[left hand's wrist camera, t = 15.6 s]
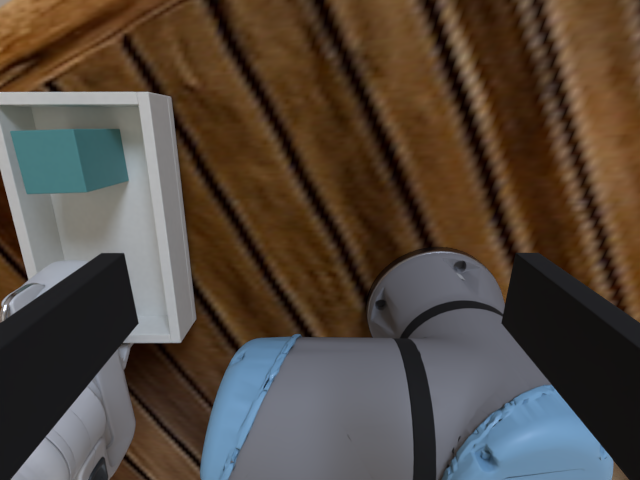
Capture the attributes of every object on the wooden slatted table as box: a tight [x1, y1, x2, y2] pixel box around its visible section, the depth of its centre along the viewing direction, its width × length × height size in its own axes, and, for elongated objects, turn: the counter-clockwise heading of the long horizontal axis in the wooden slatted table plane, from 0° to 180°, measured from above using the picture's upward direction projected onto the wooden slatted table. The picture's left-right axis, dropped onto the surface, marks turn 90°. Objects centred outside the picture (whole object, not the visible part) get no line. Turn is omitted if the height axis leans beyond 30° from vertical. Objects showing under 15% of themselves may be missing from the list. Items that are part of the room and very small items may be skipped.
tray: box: [0, 92, 196, 343], centre depth 36 cm, size 24×14×5 cm, turn 0°
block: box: [10, 129, 129, 194], centre depth 33 cm, size 5×5×7 cm
